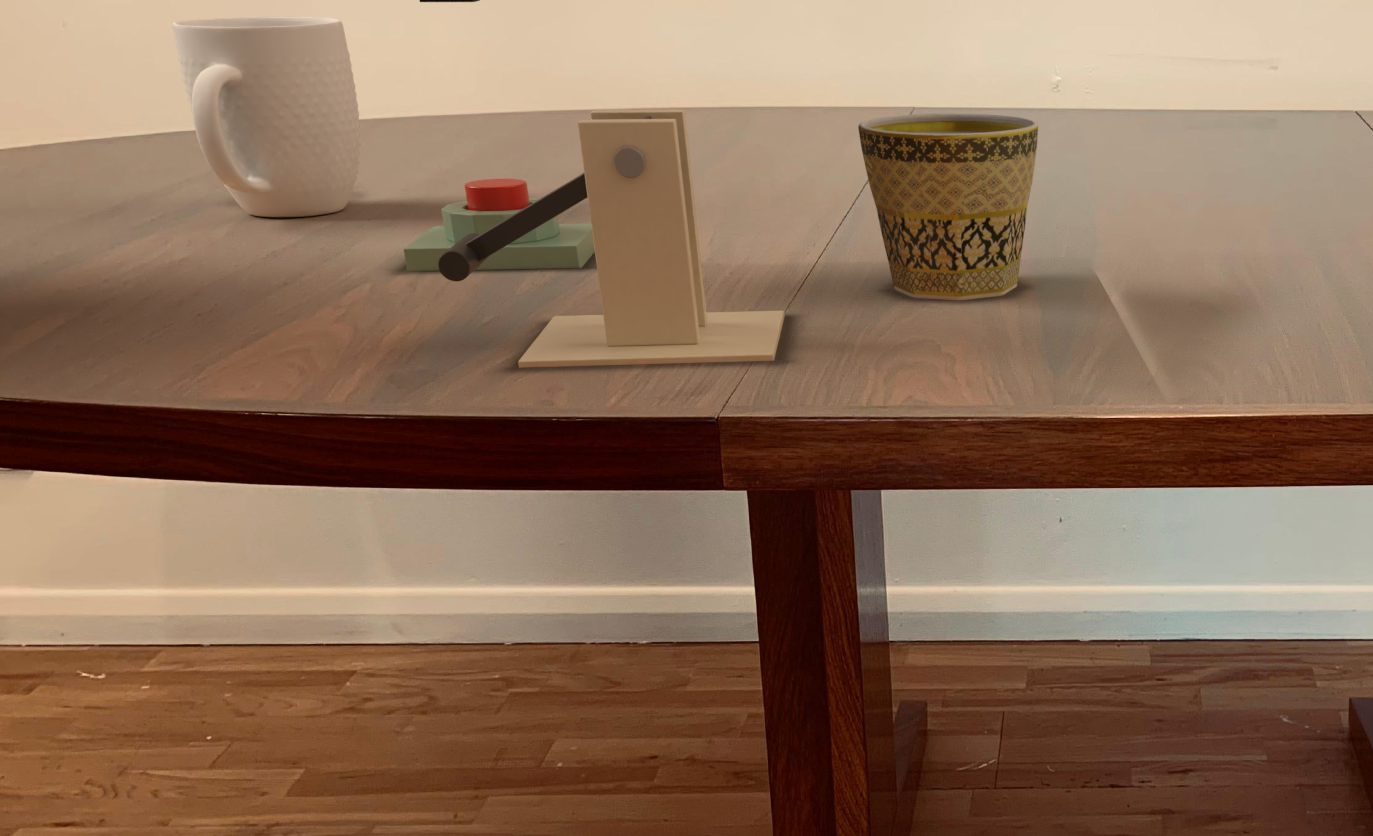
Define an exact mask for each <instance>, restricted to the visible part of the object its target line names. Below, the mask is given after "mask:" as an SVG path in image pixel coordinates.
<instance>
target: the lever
mask: <svg viewBox="0 0 1373 836" xmlns="http://www.w3.org/2000/svg"><path fill="white" fill-rule="evenodd" d="M643 119H652V118H651V116H647V117H645V118H643ZM538 199H539V200H537V201H535V202H534V203H532V204H530V205H529V206H527V207H525V208H524V209H522V210H520V211H519V212H517V213H515V214H514V215H512V216H510V217H509V218H507V219H505V220H504V221H502V222H500V223H498V224H497V225H495V226H493V227H492V228H490V229H488V230H487V231H485V232H483V233H482V234H476V233H471V234H468V235H466V236H465V237H463V238H462V239H461V240H460V241H458V242H457V243H456V244H455V245H453V246H452V247H451V248H450V249H448V250H447V251H446V252H445V253H444V254H442V255H441V257H440V258H439V261H438V267H439V270H438V271H439V272H440V274H441V276H443V277H444V278H445V279H447V280H449V281H451V282H461V281H464V280H466V278H468V277H469V276H470V275H471V274H472V273H474V271H475V269H476V268H477V267H478V266H479V265H481V264H482V263H483V262H484V261H485V260H486V259H487V258H488V257H489V256H490V255H492V254H493V253H495V252H497V251H498V250H500V249H502V248H503V247H505V246H507V245H508V244H510V243H512V242H514V241H515V240H517V239H519V238H520V237H522V236H524V235H525V234H527V233H529V232H530V231H532V230H534V229H535V228H537V227H539V226H540V225H542V224H544V223H545V222H547V221H549V220H551V219H552V218H554V217H556V216H557V215H558V216H559V215H561V214H562V213H564V212H566V211H567V210H569V209H571V208H573V207H574V206H576V205H578V204H579V203H581V202H583V201H585V200H586V199H588V196H587V189H586V181H585V174H584V172H582V173H581V174H579V175H577V176H576V177H574V178H572V179H571V180H569V181H568V182H566V183H564V184H562V185H560V186H559V187H557V188H556V189H554V190H552V191H551V192H549V193H547V194H546V195H544V196H543V197H540V198H538Z"/></svg>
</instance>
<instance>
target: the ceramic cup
mask: <svg viewBox="0 0 1373 836" xmlns="http://www.w3.org/2000/svg"><path fill="white" fill-rule="evenodd" d="M1038 132H1039V124H1038V123H1037V122H1036V121H1034V120H1032V119H1028V118H1024V117H1020V116H1019V117H1018V116H1011V115H1002V114H990V113H989V114H988V113H956V112H955V113H951V112H950V113H947V112H945V113H916V114H915V113H914V114H899V115H890V116H883V117H882V116H881V117H876V118H871V119H867V120H864V121H862V122H860V123H859V124H858V135H859V141H860V147H861V153H862V158H863V162H864V167H865V172H866V175H867V181H868V185H869V188H870V192H871V195H872V198H873V201H874V205H875V209H876V214H877V218H878V224H879V228H880V232H881V236H882V241H883V245H884V249H885V255H886V257H887V261H888V266H889V271H890V276H891V281H892V284H893V288H894V290H895V291H897V292H900V293H902V294H904V295H907V296H909V297H911V298H914V299H927V300H929V299H930V300H945V301H946V300H947V301H964V300H965V301H967V300H973V299H982V298H991V297H999V296H1004V295H1005V294H1007V293H1009V292H1010V291H1012V290H1014V289H1015V288H1017V287H1018V281H1019V277H1020V276H1019V274H1020V265H1021V258H1022V251H1023V246H1024V245H1023V244H1024V238H1025V230H1026V222H1027V221H1026V220H1027V212H1028V204H1029V201H1030V200H1029V199H1030V195H1031V191H1032V186H1033V182H1034V181H1033V180H1034V172H1035V166H1036V156H1037V149H1038V134H1039V133H1038Z"/></svg>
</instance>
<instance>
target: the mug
mask: <svg viewBox="0 0 1373 836" xmlns="http://www.w3.org/2000/svg"><path fill="white" fill-rule="evenodd" d="M171 27H172V33H173V36H174V42H175V46H176V51H177V59H178V62H179V64H180V71H181V73H182V80H183V83H184V86H185V92H186V95H187V100H188V103H189V105H190V111H191V113H192V120H193V126H194V130H195V134H196V138H197V141H198V145H199V147H200V150H201V153H202V154H203V157H204V159H205V161H206V163H207V164H208V166H209V168H210V169H211V171H212V173H213V174H214V175H215V176H216V178H217V179H218V180H219V181H220V182H221V183H222V184H223V186H224V188H225V189H226V190H227V191H228V192H229V194H230V196H232V198H233V199H234V200H235V202H236V203H237V204H238V205H239V207H241V209H242V210H244V211H245V212H246V213H247V214H248V215H251V216H254V217H263V218H264V217H265V218H302V217H303V218H304V217H313V216H322V215H328V214H333V213H338V212H341V211H342V210H344V209H345V208H346V206H347V205H348V203H349V201H350V199H351V197H352V194H353V190H354V187H355V184H356V181H357V174H358V173H359V165H360V155H361V151H360V149H361V148H360V147H361V130H360V127H361V123H360V119H359V118H360V112H359V104H358V101H357V100H358V99H357V91H356V84H355V81H354V73H353V70H352V69H353V68H352V62H351V55H350V51H349V48H348V44H347V39H346V33H345V29H344V25H343V22H342V20H341V19H338V18H334V17H320V16H239V17H235V16H234V17H213V18H197V19H188V20H187V19H185V20H178V21H174V22H173V23H172V26H171Z"/></svg>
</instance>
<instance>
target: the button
mask: <svg viewBox="0 0 1373 836" xmlns="http://www.w3.org/2000/svg"><path fill="white" fill-rule="evenodd" d="M464 191H465V197H466V201H467V204H468V210H471V211H508V210H518V209H524V208H525V207H527V206H529V205H530V202H529V198H530V195H529V189H528V183H527V181H526V180H523V179H518V178H488V179H478V180H472V181H469V182H465V184H464Z"/></svg>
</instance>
